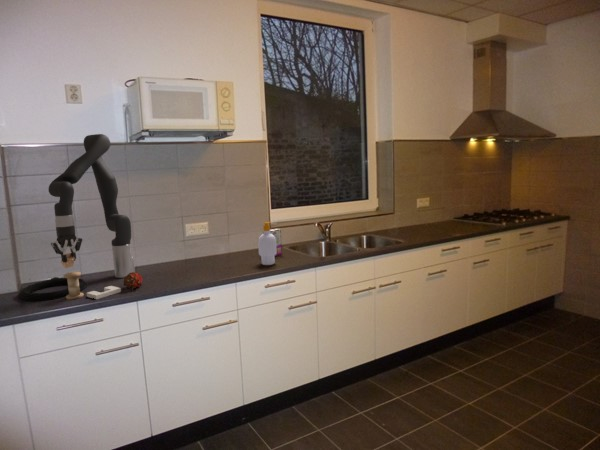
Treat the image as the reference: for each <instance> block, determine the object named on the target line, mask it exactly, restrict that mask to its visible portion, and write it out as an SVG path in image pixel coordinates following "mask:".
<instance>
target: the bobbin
mask: <svg viewBox="0 0 600 450" xmlns="http://www.w3.org/2000/svg"><path fill="white" fill-rule="evenodd" d="M81 275H82V272H81V271H71V272H67V273H64V274H63V278H67V281H68V285H67V287H68V289H69V295H67V296H65V298H66V300H68V301H69V300H71V301H72V300H73V301H74V300H77V299H81V298H83V297H85V296H84V295H85V294H84V292H81V291H80V288H79V279H80V278H79V277H80V276H81Z"/></svg>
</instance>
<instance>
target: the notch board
mask: <svg viewBox="0 0 600 450" xmlns="http://www.w3.org/2000/svg"><path fill="white" fill-rule="evenodd" d="M103 290H104V291H102V292H99V291H96V290H91V291H88V292H86V297H87V298H91V299H93V298H94V300H99V299H102V298H106V297H109V296H111V295H112V296H113V295H115V294H118V293H121V292H122V288H121V287H118V286H114V285H108V286H105V287H103Z"/></svg>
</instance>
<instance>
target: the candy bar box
mask: <svg viewBox="0 0 600 450" xmlns="http://www.w3.org/2000/svg"><path fill="white" fill-rule="evenodd" d="M262 234H264V230H262ZM270 234H273V235H274V236H275V238H276V249H277V254H276V255H274V256H275V257H277V256H281V255H283V245H282V229H281V228H273V229H270Z"/></svg>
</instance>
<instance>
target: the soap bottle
mask: <svg viewBox="0 0 600 450" xmlns="http://www.w3.org/2000/svg"><path fill="white" fill-rule="evenodd" d="M271 222H272V221H267V222H265V221H264V223H263V224H264V225H262V226H263V230H262V231H264V234H263V233H262V234H261V235H260V236H259V237H258V241H257V244H258V255H259V256H260V257H261V259H260V260H261V264H262V265H263V266H271V265H275V263H276V261H275V260H276V259H275V257H276V256H274V255H276V254H277V249H276V238H275V236H274V235H273V234H270V230H271V228H270V227H271V226H270V224H271Z"/></svg>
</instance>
